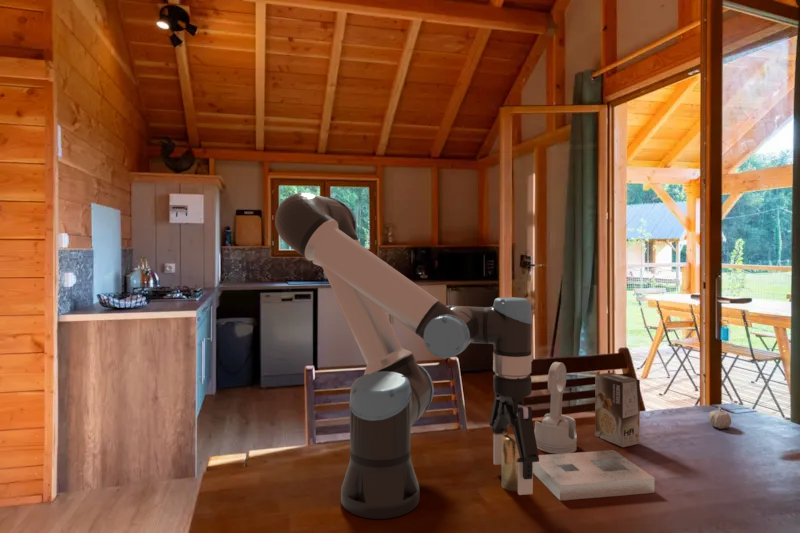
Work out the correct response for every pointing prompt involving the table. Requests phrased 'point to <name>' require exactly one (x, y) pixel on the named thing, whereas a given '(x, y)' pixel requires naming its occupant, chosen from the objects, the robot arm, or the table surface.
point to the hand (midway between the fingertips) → (511, 477)
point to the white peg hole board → (591, 475)
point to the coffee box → (617, 409)
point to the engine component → (556, 418)
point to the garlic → (719, 419)
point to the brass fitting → (509, 463)
